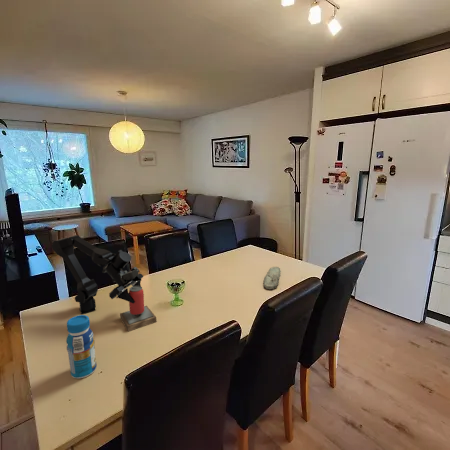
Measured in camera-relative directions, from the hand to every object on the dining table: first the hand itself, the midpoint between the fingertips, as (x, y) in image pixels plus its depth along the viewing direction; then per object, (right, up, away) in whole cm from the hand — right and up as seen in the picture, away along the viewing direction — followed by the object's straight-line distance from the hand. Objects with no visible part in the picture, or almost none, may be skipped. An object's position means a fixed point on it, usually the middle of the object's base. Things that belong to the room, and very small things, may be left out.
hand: (138, 299), depth 123 cm
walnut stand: (-1, -11, +3) cm, 11 cm away
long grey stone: (+71, -1, +50) cm, 87 cm away
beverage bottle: (-10, -18, -29) cm, 35 cm away
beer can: (-1, -7, +2) cm, 7 cm away
